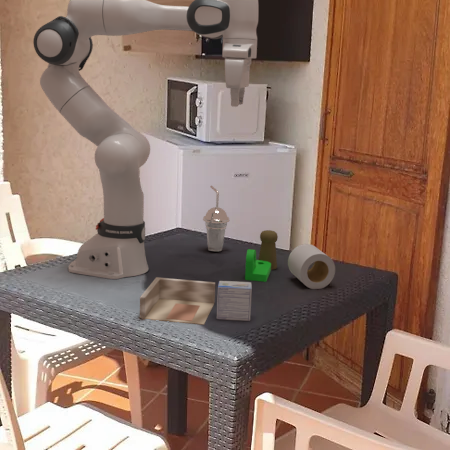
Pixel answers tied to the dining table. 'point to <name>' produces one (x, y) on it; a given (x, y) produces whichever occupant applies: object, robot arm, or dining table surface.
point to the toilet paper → (320, 270)
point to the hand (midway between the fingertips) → (237, 105)
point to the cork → (268, 247)
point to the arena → (178, 301)
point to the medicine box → (234, 300)
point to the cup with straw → (215, 226)
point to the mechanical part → (256, 267)
